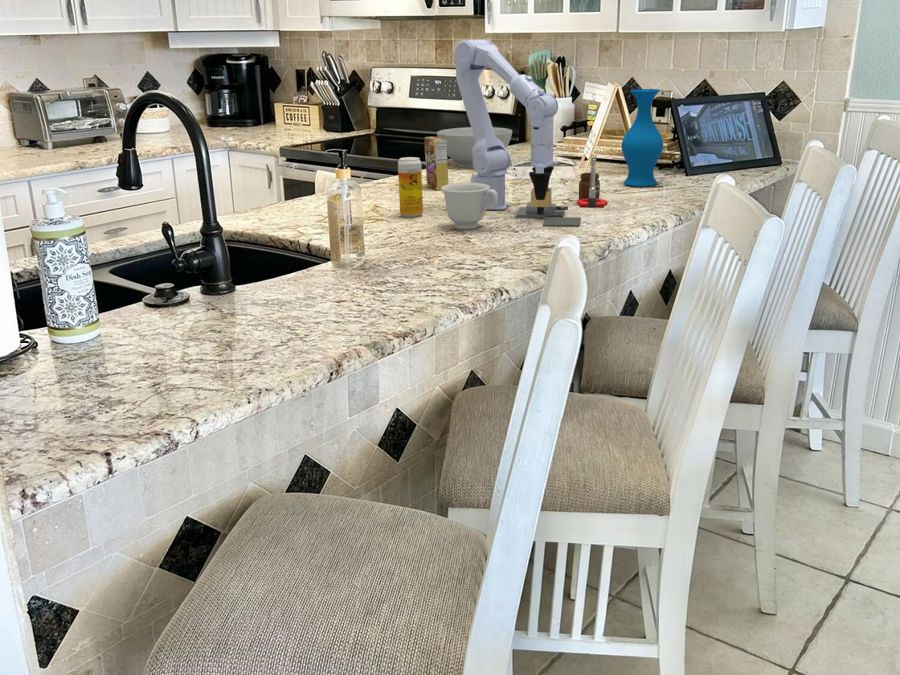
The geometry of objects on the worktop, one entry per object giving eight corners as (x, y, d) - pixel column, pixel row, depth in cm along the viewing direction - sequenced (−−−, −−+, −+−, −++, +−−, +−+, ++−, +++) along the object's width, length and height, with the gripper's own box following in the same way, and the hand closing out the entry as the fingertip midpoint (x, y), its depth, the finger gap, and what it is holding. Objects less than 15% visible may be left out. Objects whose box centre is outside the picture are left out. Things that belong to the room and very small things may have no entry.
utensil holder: (575, 199, 238) (576, 157, 234) (582, 196, 244) (584, 154, 239) (595, 201, 236) (597, 157, 232) (602, 197, 241) (604, 154, 237)
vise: (516, 217, 218) (516, 194, 216) (520, 209, 227) (520, 187, 225) (566, 218, 216) (567, 195, 214) (568, 210, 225) (569, 188, 223)
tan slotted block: (530, 206, 219) (530, 191, 217) (532, 203, 223) (532, 187, 222) (550, 206, 218) (550, 191, 216) (551, 203, 222) (551, 188, 221)
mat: (542, 226, 208) (542, 224, 208) (545, 218, 216) (545, 216, 216) (579, 226, 206) (579, 225, 206) (580, 218, 215) (580, 217, 214)
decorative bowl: (522, 161, 309) (522, 127, 305) (496, 172, 287) (496, 136, 282) (455, 158, 320) (455, 126, 316) (425, 169, 297) (424, 134, 293)
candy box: (425, 186, 265) (423, 137, 259) (438, 185, 266) (436, 136, 261) (436, 191, 257) (434, 140, 252) (449, 189, 259) (447, 139, 253)
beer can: (406, 219, 220) (403, 161, 215) (396, 215, 225) (393, 158, 220) (426, 216, 222) (424, 158, 217) (417, 212, 227) (414, 156, 222)
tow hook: (577, 202, 237) (576, 207, 228) (578, 155, 233) (577, 159, 225) (607, 203, 236) (607, 208, 227) (609, 156, 232) (609, 159, 223)
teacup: (485, 235, 200) (484, 193, 197) (432, 229, 207) (431, 189, 204) (509, 225, 210) (509, 185, 206) (458, 220, 217) (457, 181, 214)
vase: (669, 184, 257) (675, 89, 247) (640, 189, 250) (645, 92, 241) (640, 180, 266) (644, 87, 257) (611, 184, 260) (615, 90, 250)
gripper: (555, 147, 208) (555, 202, 212) (559, 140, 221) (558, 192, 226) (527, 147, 209) (527, 202, 214) (532, 140, 222) (532, 191, 227)
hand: (541, 197), depth 220 cm, fingers open, 7 cm apart
